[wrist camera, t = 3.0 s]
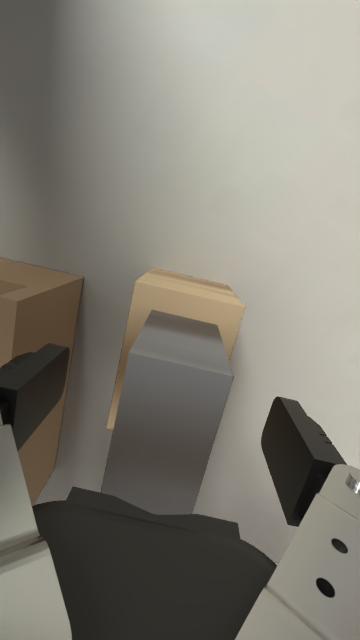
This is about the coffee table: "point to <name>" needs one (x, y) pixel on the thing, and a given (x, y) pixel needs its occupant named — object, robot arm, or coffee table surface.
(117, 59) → the coffee table surface
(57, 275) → the wall board
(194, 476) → the cabinet block
